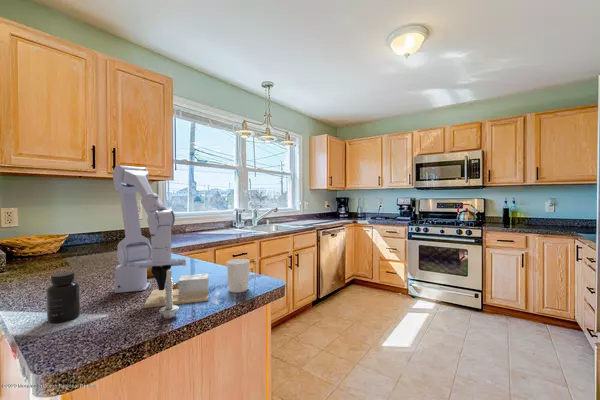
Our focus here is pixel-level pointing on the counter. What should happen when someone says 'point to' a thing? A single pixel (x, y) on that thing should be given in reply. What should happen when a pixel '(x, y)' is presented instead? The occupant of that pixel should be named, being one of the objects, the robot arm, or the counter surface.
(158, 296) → the bearing block
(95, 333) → the counter surface
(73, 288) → the supplement bottle
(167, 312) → the screw
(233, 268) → the white cup
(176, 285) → the shaft
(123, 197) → the robot arm
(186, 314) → the counter surface
